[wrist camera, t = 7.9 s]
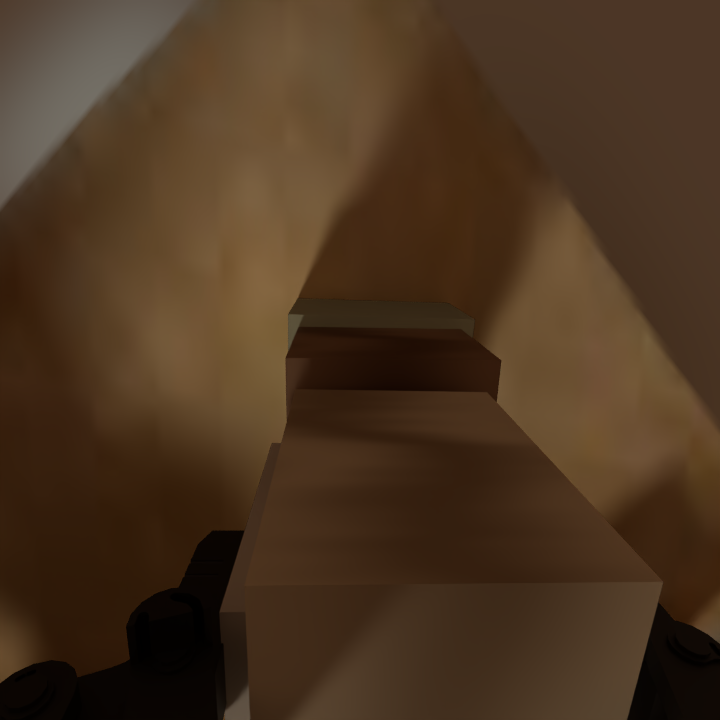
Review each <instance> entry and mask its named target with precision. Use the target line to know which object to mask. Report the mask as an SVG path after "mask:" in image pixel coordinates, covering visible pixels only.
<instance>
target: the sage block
mask: <svg viewBox="0 0 720 720" xmlns="http://www.w3.org/2000/svg"><path fill="white" fill-rule="evenodd" d="M474 323H475V319H473V318H472V317H470V316H468V315H467V314H465V313H464V312H462V311H460V310H459V309H457V308H456V307H454V306H452V305H451V304H449V303H434V302H401V301H369V300H336V299H303V298H298V299H297V300H296V302H295V304H294V305H293V307H292V309H291V310H290V312H289V314H288V351H289V348H290V346H291V344H292V341H293V339H294V336H295V334H296V331H297V329H298V327H354V328H421V329H462V330H463V331H464V332H465V333H467V334H468V335H469V336H471V337H472V338H473V333H474Z"/></svg>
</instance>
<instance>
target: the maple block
mask: <svg viewBox="0 0 720 720" xmlns="http://www.w3.org/2000/svg"><path fill="white" fill-rule="evenodd" d="M662 585H663V581H662V580H661V579H660V578H659V577H658V575H657V574H656V573H655V572H654V571H653V570H652V569H651V568H650V567H649V566H648V565H647V564H646V563H645V561H644V560H643V559H642V558H641V557H640V556H639V555H638V554H637V553H636V552H635V551H634V550H633V549H632V548H631V546H630V545H629V544H628V543H627V542H626V541H625V540H624V539H623V538H622V537H621V536H620V535H619V534H618V532H617V531H616V530H615V529H614V528H613V527H612V526H611V525H610V524H609V523H608V522H607V521H606V520H605V518H604V517H603V516H602V515H601V514H600V513H599V512H598V511H597V510H596V509H595V508H594V507H593V506H592V505H591V503H590V502H589V501H588V500H587V499H586V498H585V497H584V496H583V495H582V494H581V493H580V492H579V491H578V489H577V488H576V487H575V486H574V485H573V484H572V483H571V482H570V481H569V480H568V479H567V478H566V477H565V475H564V474H563V473H562V472H561V471H560V470H559V469H558V468H557V467H556V466H555V465H554V464H553V463H552V461H551V460H550V459H549V458H548V457H547V456H546V455H545V454H544V453H543V452H542V451H541V450H540V449H539V448H538V446H537V445H536V444H535V443H534V442H533V441H532V440H531V439H530V438H529V437H528V436H527V435H526V434H525V432H524V431H523V430H522V429H521V428H520V427H519V426H518V425H517V424H516V423H515V422H514V421H513V420H512V418H511V417H510V416H509V415H508V414H507V413H506V412H505V411H504V410H503V409H502V408H501V407H500V406H499V405H498V403H497V402H496V401H495V400H494V399H493V398H492V397H491V396H490V395H489V394H488V393H487V392H444V391H379V390H314V389H295V393H294V396H293V400H292V404H291V408H290V412H289V416H288V420H287V423H286V427H285V431H284V435H283V439H282V443H281V446H280V450H279V454H278V458H277V462H276V466H275V470H274V473H273V477H272V481H271V485H270V489H269V493H268V497H267V500H266V504H265V508H264V512H263V516H262V520H261V523H260V527H259V531H258V535H257V539H256V543H255V547H254V550H253V554H252V558H251V562H250V566H249V570H248V574H247V577H246V581H245V585H244V590H245V612H246V635H247V658H248V681H249V704H250V720H627V718H628V714H629V710H630V707H631V703H632V699H633V695H634V691H635V688H636V684H637V680H638V676H639V672H640V669H641V665H642V661H643V657H644V654H645V650H646V646H647V642H648V638H649V635H650V631H651V627H652V623H653V619H654V616H655V612H656V608H657V604H658V601H659V597H660V593H661V589H662Z"/></svg>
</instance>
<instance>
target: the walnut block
mask: <svg viewBox="0 0 720 720" xmlns="http://www.w3.org/2000/svg"><path fill="white" fill-rule="evenodd" d="M500 368H501V360H500V359H499V358H498V357H496V356H495V355H494V354H492V353H491V352H490V351H489V350H487V349H486V348H485V347H483V346H482V345H481V344H480V343H478V342H477V341H476V340H474V339H473V338H472V337H471V336H469V335H468V334H467V333H465V332H464V331H463V330H462V329H421V328H354V327H298V329H297V331H296V334H295V336H294V339H293V341H292V344H291V346H290V348H289V351H288V353H287V356H286V406H287V420H288V416H289V412H290V408H291V404H292V400H293V396H294V393H295V389H314V390H379V391H444V392H487V393H488V394H489V395H490V396H491V397H492V398H493V399H494V400H495V401H496V402H497V394H498V385H499V376H500Z"/></svg>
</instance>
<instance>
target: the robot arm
mask: <svg viewBox="0 0 720 720" xmlns="http://www.w3.org/2000/svg"><path fill="white" fill-rule="evenodd" d="M280 446H281V443H272V444H271V447H270V451H269V454H268V457H267V460H266V464H265V467H264V470H263V473H262V476H261V480H260V483H259V486H258V489H257V493H256V496H255V499H254V502H253V505H252V509H251V512H250V515H249V518H248V522H247V525H246V528H245V531H212V532H211V533H210V534H208V535H207V536H206V537H205V538H204V539H203V540H202V541H201V542H200V543H199V544H198V546H197V548H196V550H195V552H194V555H193V557H192V559H191V563H190V564H189V566H188V568H187V570H186V573H185V577H183V579H182V581H181V584H180V586H179V588H171V589H168V590H165V591H162V592H159V593H156V594H154V595H153V596H151V597H150V598H148V599H147V600H145V601H143V602H142V603H141V604H140V605H139V606H138V607H137V608H136V609H135V611H134V612H133V613H132V614H131V616H130V618H129V621H128V623H127V626H126V630H127V638H128V646H129V655H130V660H128V661H126V662H124V663H122V664H120V665H117V666H114V667H112V668H109V669H105V670H102V671H98V672H95V673H92V674H88V675H85V676H81V677H78V678H77V676H76V672H75V669H74V668H73V667H72V666H70V665H69V664H67V663H66V662H61V661H52V660H50V661H46V662H41V663H36V664H33V665H30V666H28V667H26V668H24V669H22V670H20V671H17V672H15V673H14V674H12V675H11V676H9V677H8V678H7V679H5V680H4V681H3V682H1V683H0V720H223V717H224V712H225V720H250V704H249V681H248V658H247V635H246V612H245V590H244V585H245V581H246V577H247V574H248V570H249V566H250V562H251V558H252V554H253V550H254V547H255V543H256V539H257V535H258V531H259V527H260V523H261V520H262V516H263V512H264V508H265V504H266V500H267V497H268V493H269V489H270V485H271V481H272V477H273V473H274V470H275V466H276V462H277V458H278V454H279V450H280ZM627 720H720V644H719V643H718V642H717V641H715V640H714V639H713V638H712V637H710V636H709V635H708V634H706V633H704V632H702V631H700V630H699V629H697V628H695V627H693V626H691V625H688V624H685V623H682V622H679V621H674V620H673V618H672V617H671V616H670V615H669V614H668V613H667V612H666V610H665V609H664V608H663V607H662V606H661V605H660V604H659V602H658V604H657V608H656V612H655V616H654V619H653V623H652V627H651V631H650V635H649V638H648V642H647V646H646V650H645V654H644V657H643V661H642V665H641V669H640V672H639V676H638V680H637V684H636V688H635V691H634V695H633V699H632V703H631V707H630V710H629V714H628V718H627Z"/></svg>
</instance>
